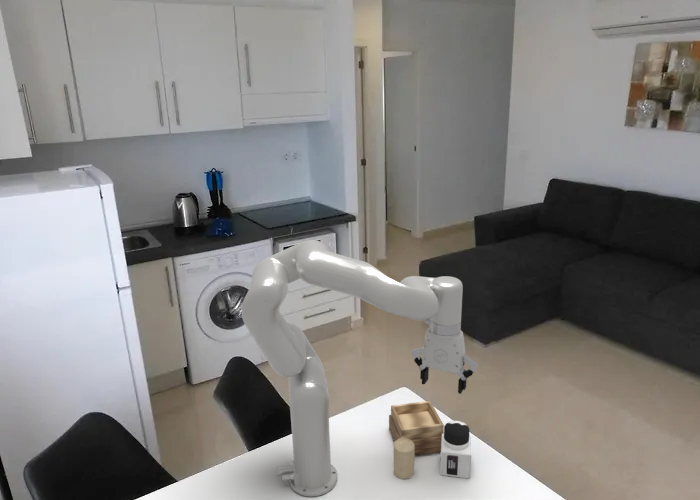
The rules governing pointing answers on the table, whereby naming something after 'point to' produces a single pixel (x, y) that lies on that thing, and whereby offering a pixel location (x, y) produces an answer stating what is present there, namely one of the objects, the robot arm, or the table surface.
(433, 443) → the base crate
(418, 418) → the top crate
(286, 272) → the robot arm
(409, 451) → the candle
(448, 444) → the container
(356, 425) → the table surface
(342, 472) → the table surface
